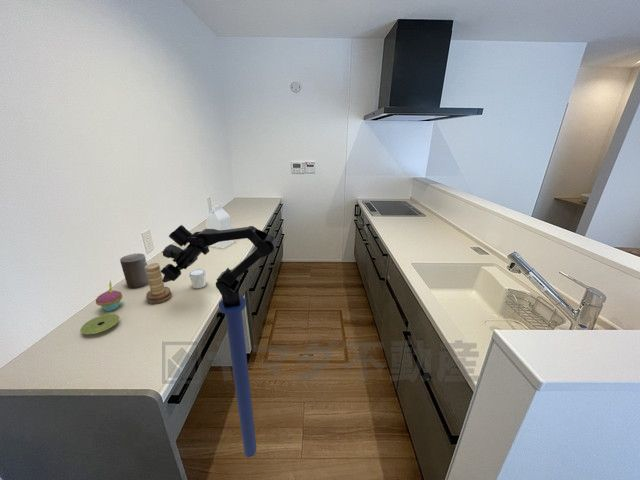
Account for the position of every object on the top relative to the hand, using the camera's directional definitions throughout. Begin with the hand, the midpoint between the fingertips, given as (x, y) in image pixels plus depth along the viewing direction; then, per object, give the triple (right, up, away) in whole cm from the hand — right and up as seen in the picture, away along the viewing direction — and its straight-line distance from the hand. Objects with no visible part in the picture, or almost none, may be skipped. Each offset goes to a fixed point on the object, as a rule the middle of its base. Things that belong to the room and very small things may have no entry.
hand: (169, 276), depth 111 cm
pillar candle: (-23, -6, +16) cm, 29 cm away
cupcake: (-22, -13, -3) cm, 26 cm away
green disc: (-17, -17, -14) cm, 28 cm away
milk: (-1, +12, +63) cm, 64 cm away
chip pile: (-7, -10, +4) cm, 13 cm away
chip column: (-7, -7, +3) cm, 10 cm away
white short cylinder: (+6, -6, +14) cm, 17 cm away
